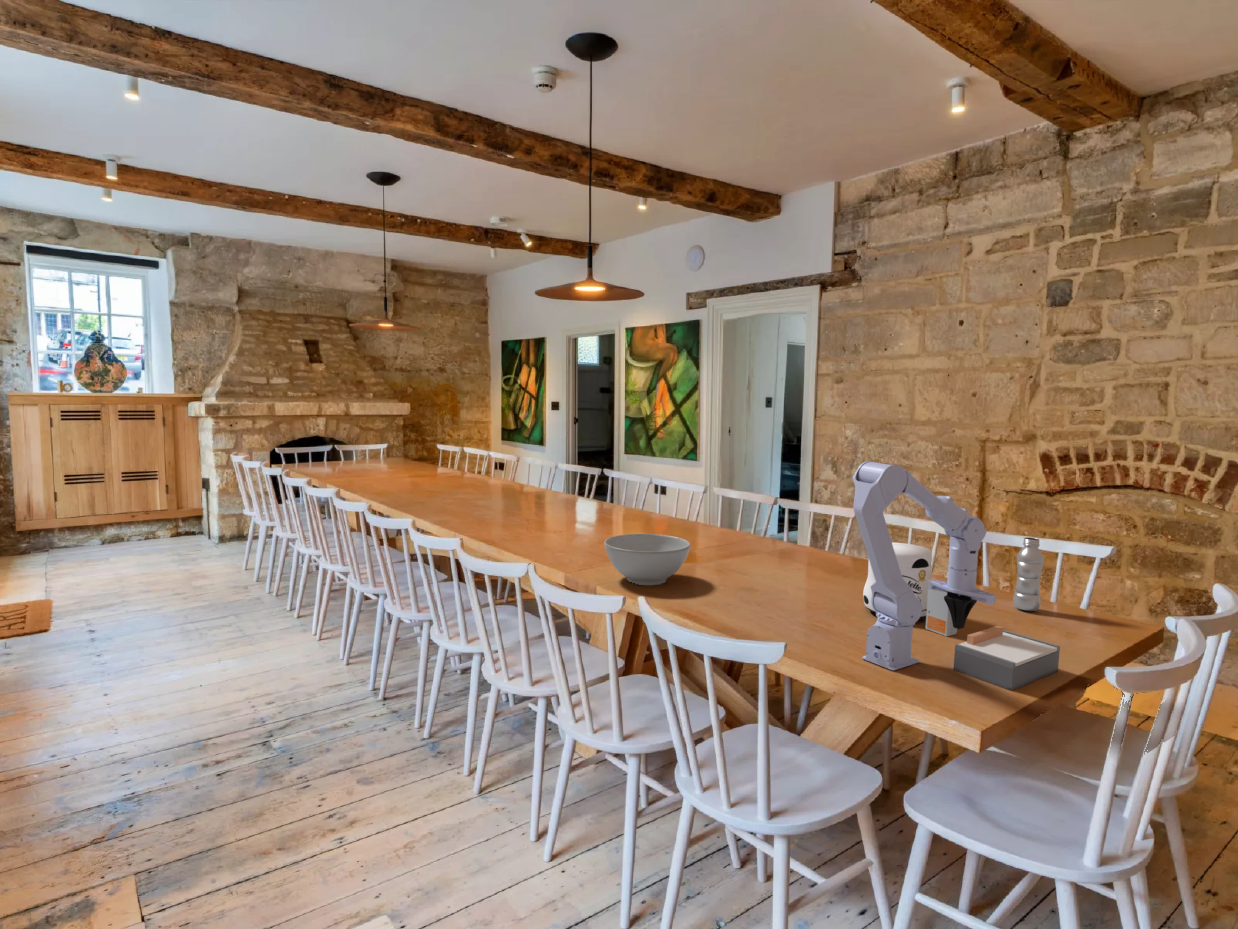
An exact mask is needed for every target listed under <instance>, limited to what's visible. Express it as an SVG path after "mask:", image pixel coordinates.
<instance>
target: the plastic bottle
mask: <svg viewBox="0 0 1238 929" xmlns="http://www.w3.org/2000/svg"><path fill="white" fill-rule="evenodd" d="M1022 545H1023V547H1022V548H1021V549H1020V550H1019V551H1018V553H1017V554H1016V566H1017V574H1016V576H1017V579H1016V585H1015V591H1014V593H1013V597H1012V602H1013V606H1014V607H1015V608H1016V609H1019V610H1022V611H1025V612H1037V611H1038V610H1039V609H1040V607H1041V603H1042V601H1041V600H1042V599H1041V576H1042V571H1043V568H1044V563H1045V557H1044V554H1043V553H1042V551H1041V550H1040V549H1039V547H1040V539H1039V538H1036V537H1023V543H1022Z"/></svg>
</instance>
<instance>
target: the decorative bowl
mask: <svg viewBox="0 0 1238 929" xmlns="http://www.w3.org/2000/svg"><path fill="white" fill-rule="evenodd" d="M603 544H604V550H605V553H606V555H607V557H608V559H609V561H610V562H611V565H613V567H614V568H615V569H616V571H617V572H618V573H620V574H621V575H622V576H623V577H625V578H626V581H627V580H628V581H629V583H630V582H632V583H631V584H633V583H635V584H634V585H637V584H638V586H639V585H640V586H658V585H662V583H663V584H664V583H666V582H667V579H668V578H670V577H672V576H673V575H674V574H676V573H677V572H678V571H679V570H680V568H681V567H682V566H683V565H684V563H685V561H686V559H687V558H688V555H689V552H690V551H691V542H690V541H689V540H687V539H685V538H683V537H682V538H681V537H678V536H672V535H669V534H659V533H658V534H657V533H628V534H620V535H614V536H611V537H608V538H606V539H605V540H604V542H603ZM628 581H627V582H628Z"/></svg>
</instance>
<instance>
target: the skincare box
mask: <svg viewBox="0 0 1238 929" xmlns="http://www.w3.org/2000/svg"><path fill="white" fill-rule="evenodd" d="M944 596H947V592H943V591H939V590H935V589H933V590H932V589H928V599H927V613H926V617H925V630H928V631H931V632H933V633H936V634H939V635H941V636H944V637H950V636H954V635H957V633H958V629H957V628H954V627H953V623H952V618H951V614H950V611H949V608H948V606H947V604H946V602H945V600H944Z"/></svg>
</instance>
